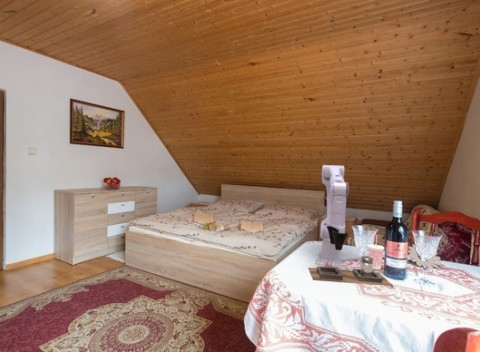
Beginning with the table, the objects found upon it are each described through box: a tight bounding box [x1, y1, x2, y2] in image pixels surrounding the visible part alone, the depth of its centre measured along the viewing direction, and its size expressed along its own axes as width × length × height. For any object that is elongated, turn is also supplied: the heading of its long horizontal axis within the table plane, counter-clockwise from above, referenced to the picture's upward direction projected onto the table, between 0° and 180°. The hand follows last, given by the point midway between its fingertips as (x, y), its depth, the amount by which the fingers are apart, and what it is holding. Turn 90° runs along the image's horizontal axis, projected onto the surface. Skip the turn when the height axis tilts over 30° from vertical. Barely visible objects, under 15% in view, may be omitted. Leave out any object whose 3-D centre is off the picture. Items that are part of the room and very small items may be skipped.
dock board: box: [308, 266, 394, 288], centre depth 105 cm, size 12×28×2 cm, turn 85°
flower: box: [368, 243, 442, 270], centre depth 125 cm, size 13×6×30 cm
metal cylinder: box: [360, 255, 373, 277], centre depth 104 cm, size 4×4×8 cm
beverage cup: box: [367, 234, 385, 270], centre depth 116 cm, size 6×6×14 cm
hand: (335, 246), depth 109 cm, fingers open, 7 cm apart
